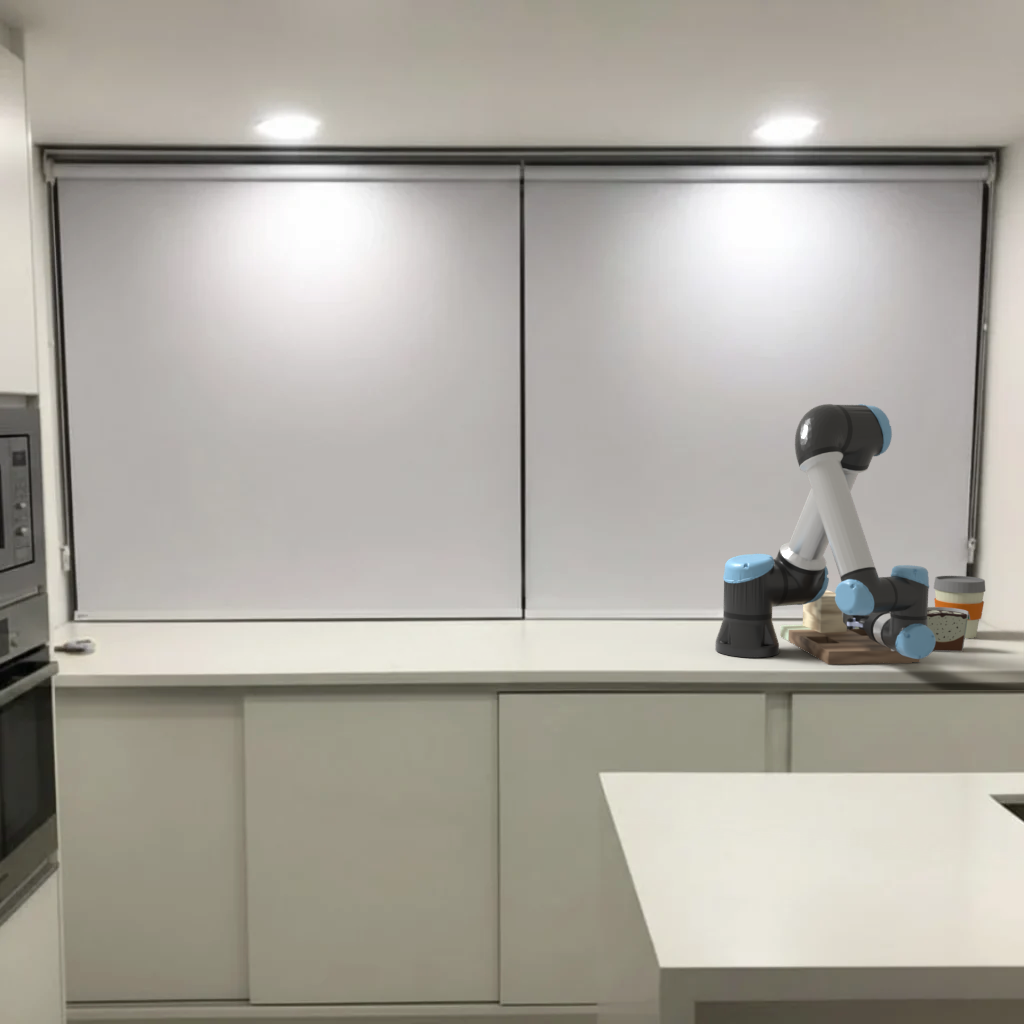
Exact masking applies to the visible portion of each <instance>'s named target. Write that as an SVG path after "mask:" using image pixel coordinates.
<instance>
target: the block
mask: <svg viewBox="0 0 1024 1024" xmlns="http://www.w3.org/2000/svg"><path fill="white" fill-rule="evenodd" d="M835 597H836V593H835V591H831V590H826V591H825V593H824V594H823V596H822V597H821V598H820V599H818V600H817V601H814V602H811V603H807V604H803V605H802V606H803V607H802V625H803V626H805V627H808V628H810V629H813V630H815V631H818V632H820V633H829V632H846V631H847V626H846V624H845V623H844V622H843V617H842V611H841V610H840V609H839V608H838V606H837V604H836V601H835Z"/></svg>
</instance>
